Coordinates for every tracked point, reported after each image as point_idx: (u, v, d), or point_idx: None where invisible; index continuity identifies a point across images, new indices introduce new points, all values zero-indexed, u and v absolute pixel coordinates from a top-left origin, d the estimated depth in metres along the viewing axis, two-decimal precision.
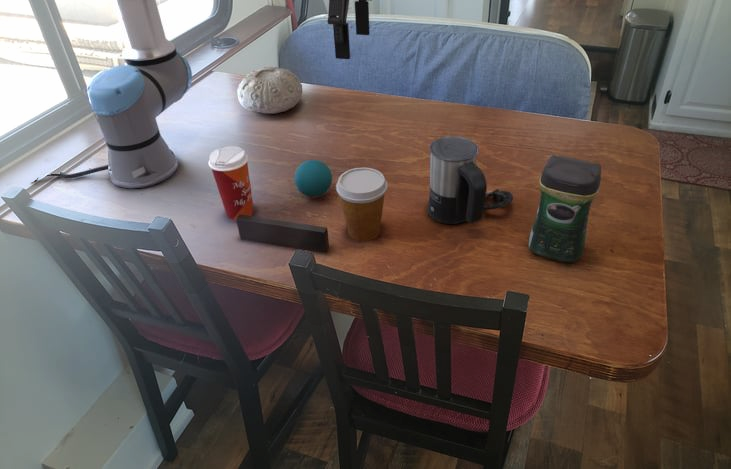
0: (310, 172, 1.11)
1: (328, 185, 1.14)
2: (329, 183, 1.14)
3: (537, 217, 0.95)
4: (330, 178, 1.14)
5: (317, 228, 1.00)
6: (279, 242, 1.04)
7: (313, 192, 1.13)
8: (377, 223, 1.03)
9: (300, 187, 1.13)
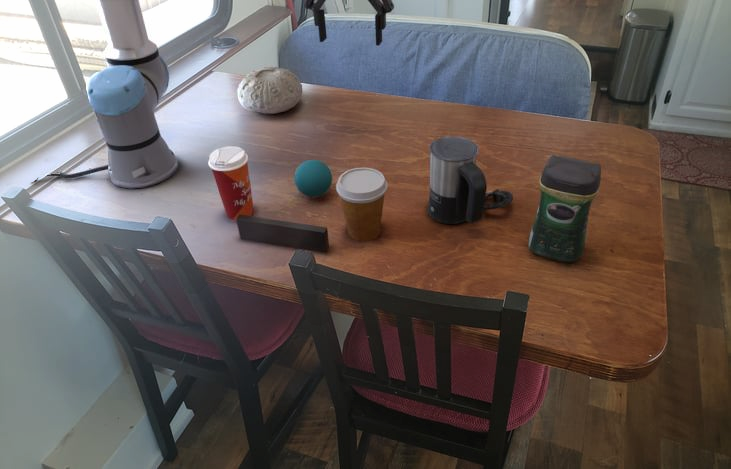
0: (310, 172, 1.11)
1: (328, 185, 1.14)
2: (329, 183, 1.14)
3: (537, 217, 0.95)
4: (330, 178, 1.14)
5: (317, 228, 1.00)
6: (279, 242, 1.04)
7: (313, 192, 1.13)
8: (377, 223, 1.03)
9: (300, 187, 1.13)
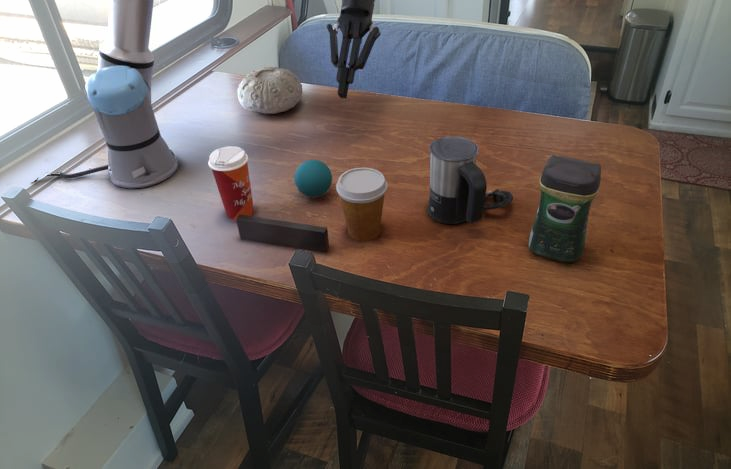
0: (310, 172, 1.11)
1: (328, 185, 1.14)
2: (329, 183, 1.14)
3: (537, 217, 0.95)
4: (330, 178, 1.14)
5: (317, 228, 1.00)
6: (279, 242, 1.04)
7: (313, 192, 1.13)
8: (377, 223, 1.03)
9: (300, 187, 1.13)
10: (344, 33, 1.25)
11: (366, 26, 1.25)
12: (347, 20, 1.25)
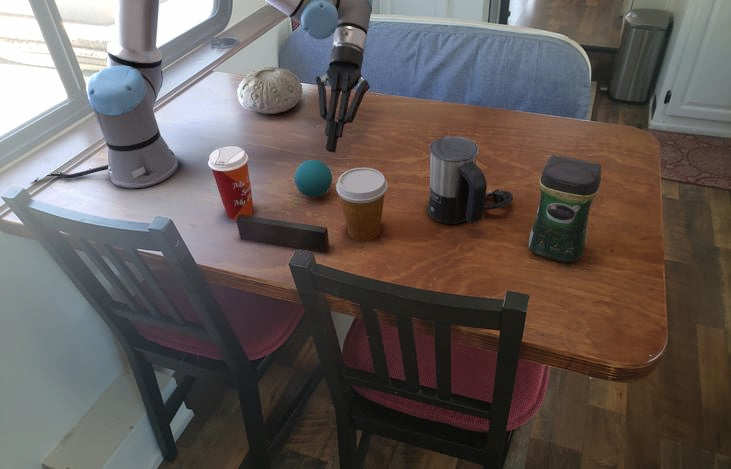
0: (310, 172, 1.11)
1: (328, 185, 1.14)
2: (329, 183, 1.14)
3: (537, 217, 0.95)
4: (330, 178, 1.14)
5: (317, 228, 1.00)
6: (279, 242, 1.04)
7: (313, 192, 1.13)
8: (377, 223, 1.03)
9: (300, 187, 1.13)
10: (333, 86, 1.23)
11: (355, 79, 1.23)
12: (336, 73, 1.23)
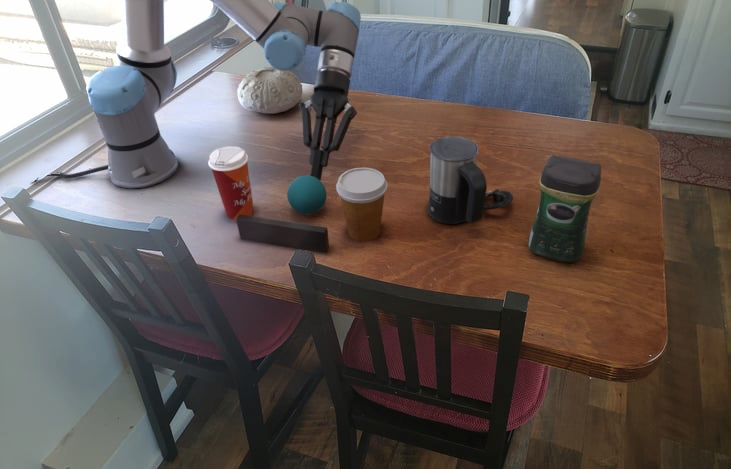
0: (305, 213, 1.09)
1: None
2: (325, 200, 1.11)
3: (537, 217, 0.95)
4: (325, 199, 1.10)
5: (317, 228, 1.00)
6: (279, 242, 1.04)
7: None
8: (377, 223, 1.03)
9: None
10: (317, 113, 1.16)
11: (341, 105, 1.16)
12: (321, 99, 1.16)
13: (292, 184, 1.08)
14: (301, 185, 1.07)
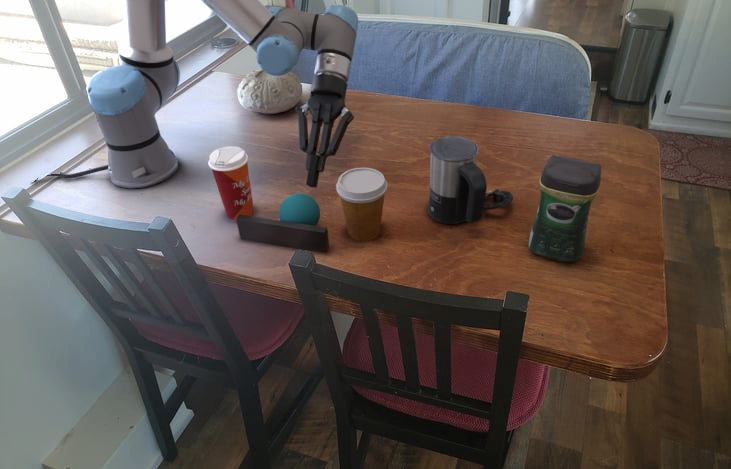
0: None
1: None
2: (319, 209, 1.06)
3: (537, 217, 0.95)
4: None
5: (317, 228, 1.00)
6: (279, 242, 1.04)
7: None
8: (377, 223, 1.03)
9: None
10: (314, 117, 1.14)
11: (338, 110, 1.14)
12: (317, 103, 1.14)
13: None
14: None
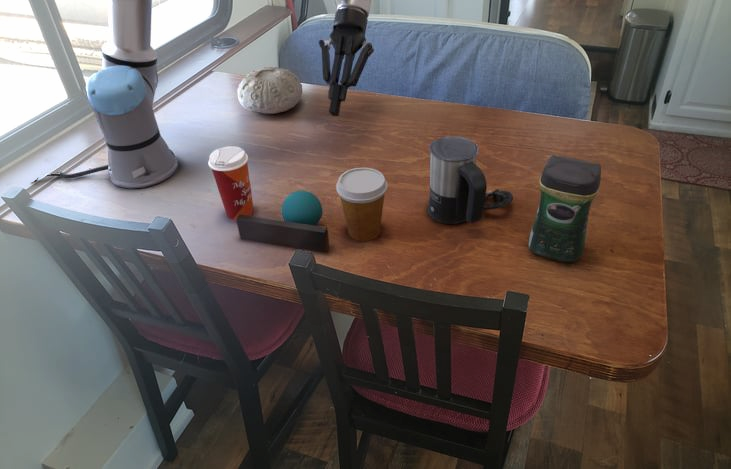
0: None
1: None
2: None
3: (537, 217, 0.95)
4: (321, 214, 1.07)
5: (317, 228, 1.00)
6: (279, 242, 1.04)
7: None
8: (377, 223, 1.03)
9: None
10: (336, 49, 1.22)
11: (359, 42, 1.22)
12: (339, 36, 1.22)
13: (285, 220, 1.04)
14: None
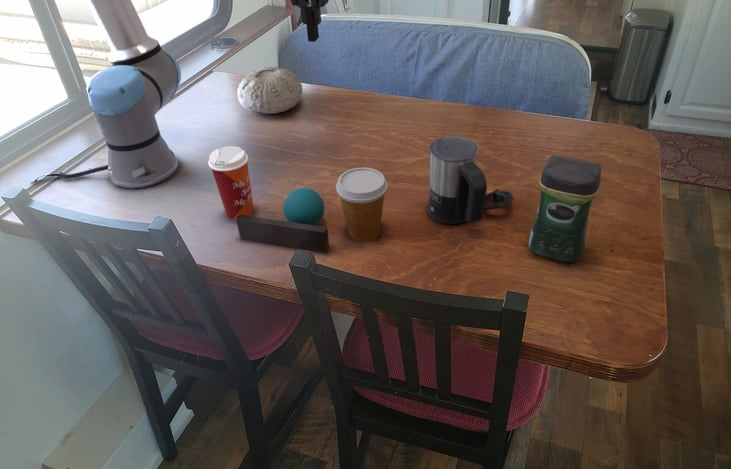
0: None
1: None
2: None
3: (537, 217, 0.95)
4: (323, 213, 1.07)
5: (317, 228, 1.00)
6: (279, 242, 1.04)
7: None
8: (377, 223, 1.03)
9: None
10: None
11: None
12: None
13: (287, 213, 1.04)
14: (297, 220, 1.04)
